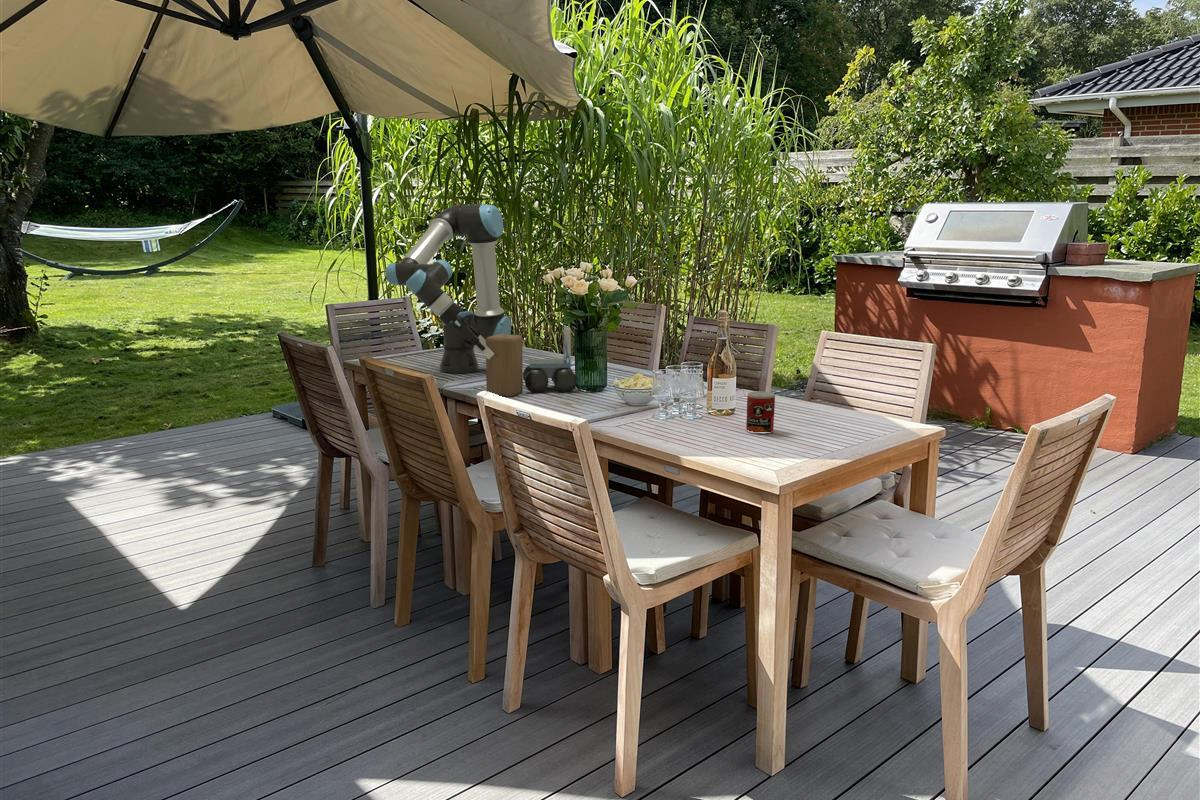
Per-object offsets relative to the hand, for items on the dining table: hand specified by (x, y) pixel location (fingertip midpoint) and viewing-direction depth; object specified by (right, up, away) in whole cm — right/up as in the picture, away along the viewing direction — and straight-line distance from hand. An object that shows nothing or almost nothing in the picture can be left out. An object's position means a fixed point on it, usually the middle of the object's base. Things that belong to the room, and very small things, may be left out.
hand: (491, 353), depth 311 cm
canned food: (+82, -25, -49) cm, 99 cm away
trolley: (+19, -12, +13) cm, 26 cm away
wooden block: (+4, -14, +4) cm, 15 cm away
